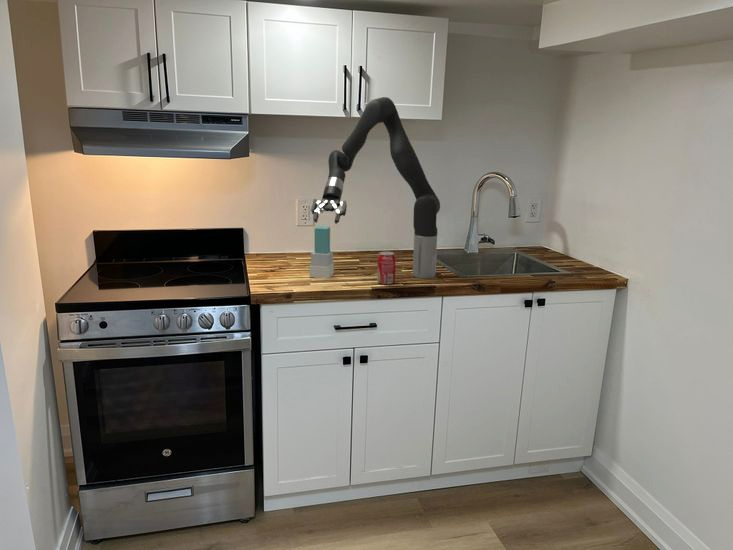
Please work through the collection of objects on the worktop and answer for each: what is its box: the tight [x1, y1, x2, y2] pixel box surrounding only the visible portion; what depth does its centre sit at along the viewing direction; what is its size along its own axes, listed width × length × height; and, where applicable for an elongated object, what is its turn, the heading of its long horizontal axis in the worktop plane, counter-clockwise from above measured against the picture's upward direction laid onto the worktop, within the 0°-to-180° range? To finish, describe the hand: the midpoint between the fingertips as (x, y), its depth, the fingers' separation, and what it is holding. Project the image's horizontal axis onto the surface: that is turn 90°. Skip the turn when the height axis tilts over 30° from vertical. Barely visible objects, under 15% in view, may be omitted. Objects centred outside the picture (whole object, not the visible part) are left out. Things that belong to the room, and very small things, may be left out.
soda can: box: [376, 251, 397, 285], centre depth 213 cm, size 7×7×12 cm
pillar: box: [314, 225, 331, 254], centre depth 219 cm, size 5×5×10 cm
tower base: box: [308, 262, 335, 280], centre depth 222 cm, size 8×8×5 cm
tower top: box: [310, 250, 334, 267], centre depth 221 cm, size 7×7×5 cm
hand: (325, 221), depth 221 cm, fingers open, 8 cm apart
